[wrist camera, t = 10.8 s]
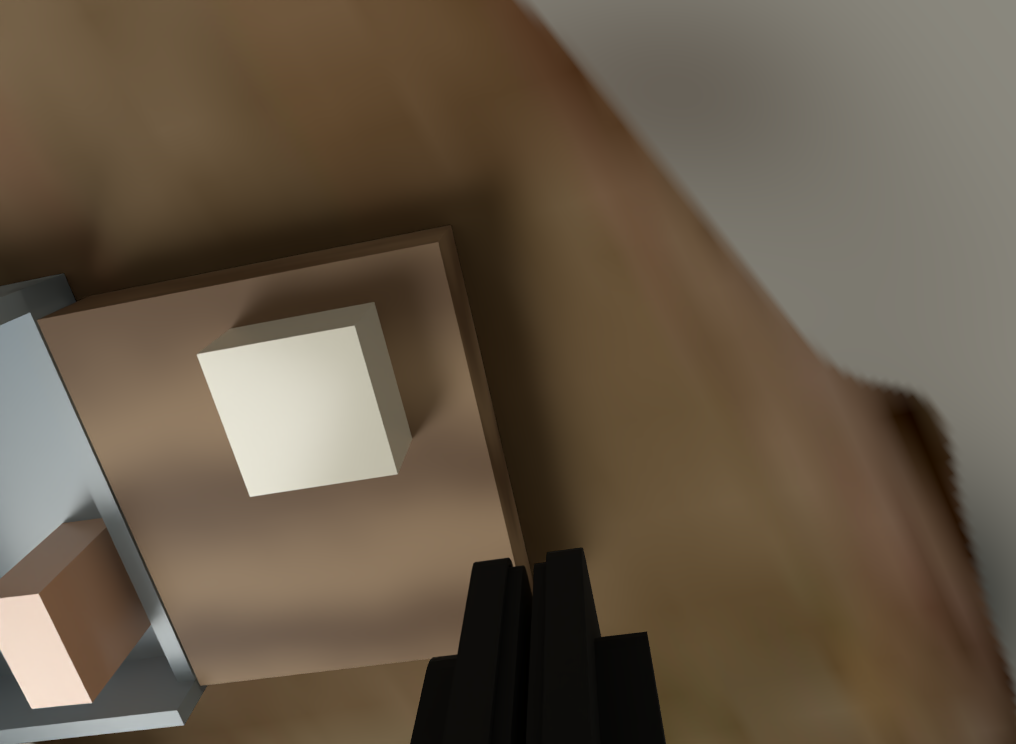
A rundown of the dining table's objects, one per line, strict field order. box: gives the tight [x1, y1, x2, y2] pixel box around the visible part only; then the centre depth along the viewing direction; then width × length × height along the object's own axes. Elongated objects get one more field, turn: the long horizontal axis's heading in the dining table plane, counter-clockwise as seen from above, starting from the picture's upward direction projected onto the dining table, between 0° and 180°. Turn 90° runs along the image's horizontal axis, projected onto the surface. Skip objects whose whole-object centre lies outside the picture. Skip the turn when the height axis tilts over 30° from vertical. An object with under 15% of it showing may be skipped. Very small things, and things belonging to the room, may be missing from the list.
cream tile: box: [197, 302, 412, 497], centre depth 24 cm, size 5×5×2 cm
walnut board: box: [37, 225, 533, 686], centre depth 28 cm, size 16×14×3 cm
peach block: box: [0, 518, 151, 709], centre depth 29 cm, size 5×5×2 cm
